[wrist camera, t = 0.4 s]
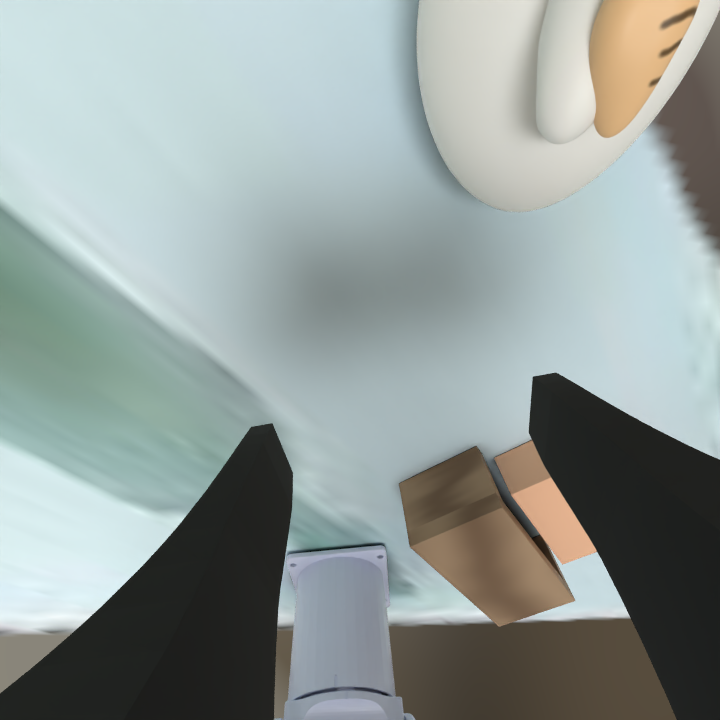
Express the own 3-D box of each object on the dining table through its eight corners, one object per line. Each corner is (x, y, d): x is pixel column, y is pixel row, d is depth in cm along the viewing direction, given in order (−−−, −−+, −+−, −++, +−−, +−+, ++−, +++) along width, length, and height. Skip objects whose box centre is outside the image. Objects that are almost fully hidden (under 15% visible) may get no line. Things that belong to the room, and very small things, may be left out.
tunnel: (476, 446, 25) (502, 507, 21) (545, 540, 32) (575, 600, 28) (398, 483, 27) (409, 547, 23) (479, 565, 33) (499, 626, 29)
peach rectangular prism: (595, 410, 24) (626, 444, 22) (632, 492, 29) (660, 528, 26) (494, 457, 26) (510, 494, 24) (543, 527, 31) (562, 564, 28)
